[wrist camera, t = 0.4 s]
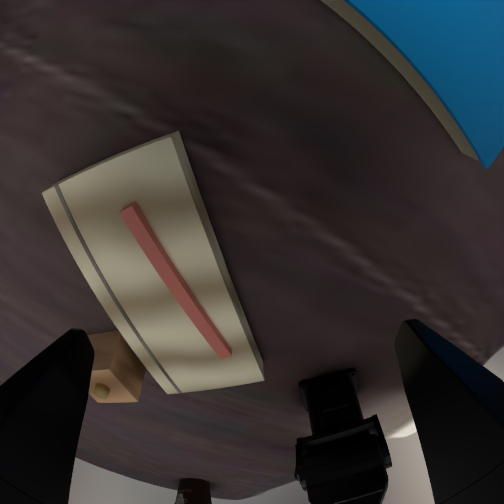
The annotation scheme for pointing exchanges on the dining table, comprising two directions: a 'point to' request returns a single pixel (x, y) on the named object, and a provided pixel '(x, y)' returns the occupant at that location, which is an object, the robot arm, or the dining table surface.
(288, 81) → the dining table surface
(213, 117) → the dining table surface
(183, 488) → the coffee mug
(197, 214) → the plank
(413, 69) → the book
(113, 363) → the block
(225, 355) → the carpenter pencil
